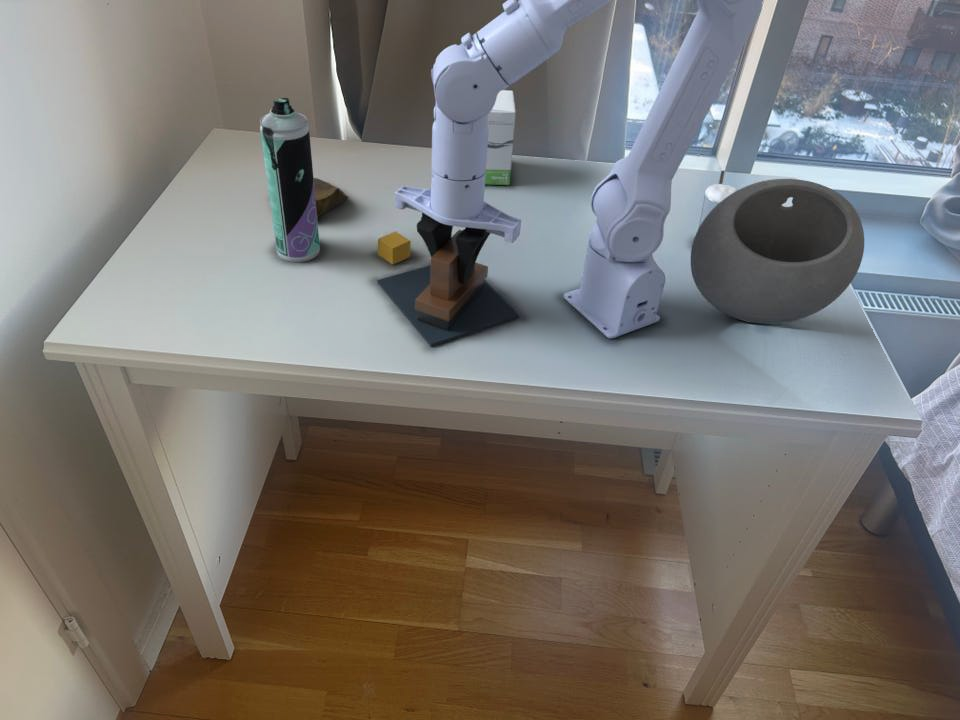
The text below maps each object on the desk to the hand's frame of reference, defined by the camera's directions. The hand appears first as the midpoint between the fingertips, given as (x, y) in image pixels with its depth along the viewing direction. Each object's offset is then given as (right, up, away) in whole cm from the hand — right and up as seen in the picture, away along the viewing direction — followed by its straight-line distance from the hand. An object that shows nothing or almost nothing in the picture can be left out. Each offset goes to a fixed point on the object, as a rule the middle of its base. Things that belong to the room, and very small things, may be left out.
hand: (453, 275), depth 87 cm
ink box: (+5, +20, +30) cm, 36 cm away
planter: (+36, -5, +5) cm, 37 cm away
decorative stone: (-21, +13, +19) cm, 31 cm away
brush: (0, -3, +2) cm, 4 cm away
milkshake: (+35, +6, +17) cm, 39 cm away
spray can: (-21, +4, +10) cm, 23 cm away
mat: (-1, -2, +4) cm, 5 cm away
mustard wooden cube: (-8, +4, +10) cm, 14 cm away
